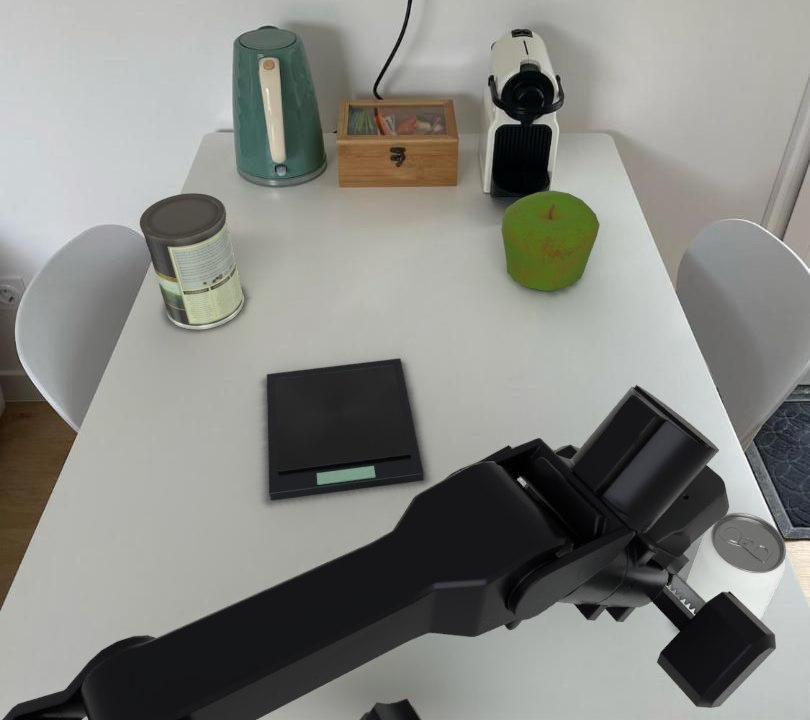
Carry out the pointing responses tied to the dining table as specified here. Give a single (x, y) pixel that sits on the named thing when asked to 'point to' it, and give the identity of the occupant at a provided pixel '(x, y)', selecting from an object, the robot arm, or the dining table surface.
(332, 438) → the scale
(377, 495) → the dining table surface
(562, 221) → the apple
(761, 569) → the can
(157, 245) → the coffee can
